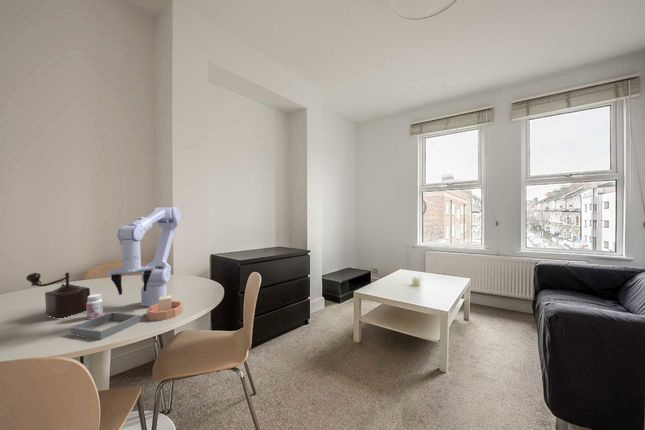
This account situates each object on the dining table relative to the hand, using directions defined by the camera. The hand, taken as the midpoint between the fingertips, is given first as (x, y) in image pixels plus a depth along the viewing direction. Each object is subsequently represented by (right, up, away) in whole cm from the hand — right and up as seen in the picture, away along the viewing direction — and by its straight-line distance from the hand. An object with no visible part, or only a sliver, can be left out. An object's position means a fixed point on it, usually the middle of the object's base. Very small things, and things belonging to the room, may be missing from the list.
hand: (133, 292), depth 101 cm
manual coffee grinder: (-32, -11, +4) cm, 34 cm away
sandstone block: (+10, -9, +4) cm, 14 cm away
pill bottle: (-16, -10, +2) cm, 19 cm away
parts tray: (-3, -10, -8) cm, 13 cm away
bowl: (+10, -10, +4) cm, 15 cm away
